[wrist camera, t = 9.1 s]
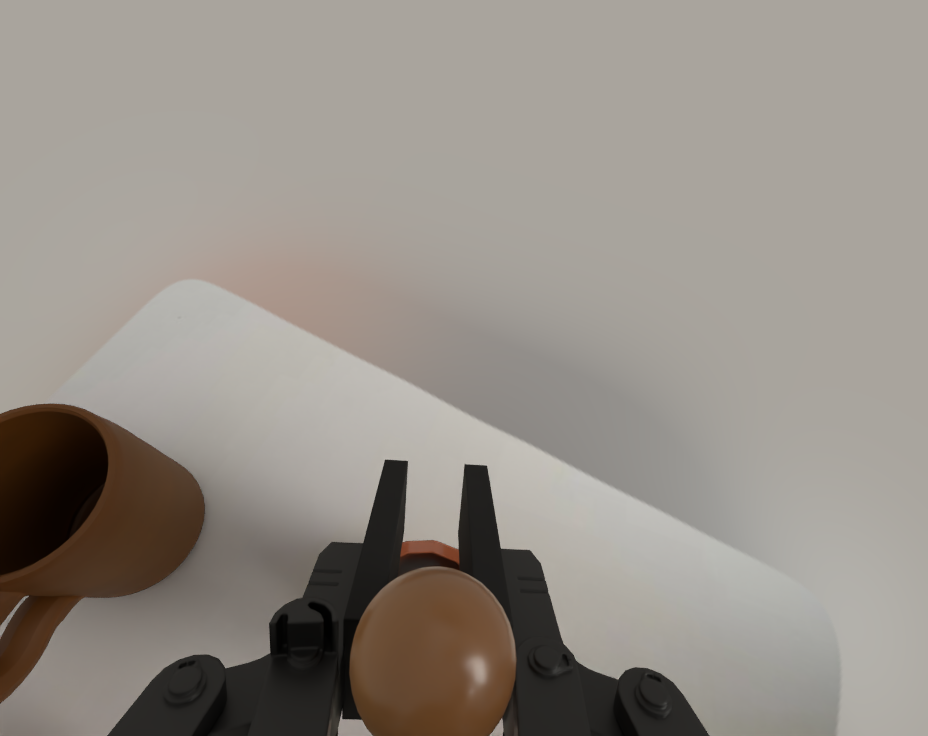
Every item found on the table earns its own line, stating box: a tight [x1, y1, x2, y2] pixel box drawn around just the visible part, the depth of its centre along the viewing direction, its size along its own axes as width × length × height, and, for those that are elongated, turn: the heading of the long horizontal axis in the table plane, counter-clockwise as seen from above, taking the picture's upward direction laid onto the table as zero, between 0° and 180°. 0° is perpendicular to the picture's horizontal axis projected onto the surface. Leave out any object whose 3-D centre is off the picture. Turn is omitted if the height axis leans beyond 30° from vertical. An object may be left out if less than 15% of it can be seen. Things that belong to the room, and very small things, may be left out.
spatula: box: [349, 566, 517, 736], centre depth 14 cm, size 3×2×22 cm, turn 88°
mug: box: [0, 404, 205, 703], centre depth 22 cm, size 12×8×9 cm, turn 175°
